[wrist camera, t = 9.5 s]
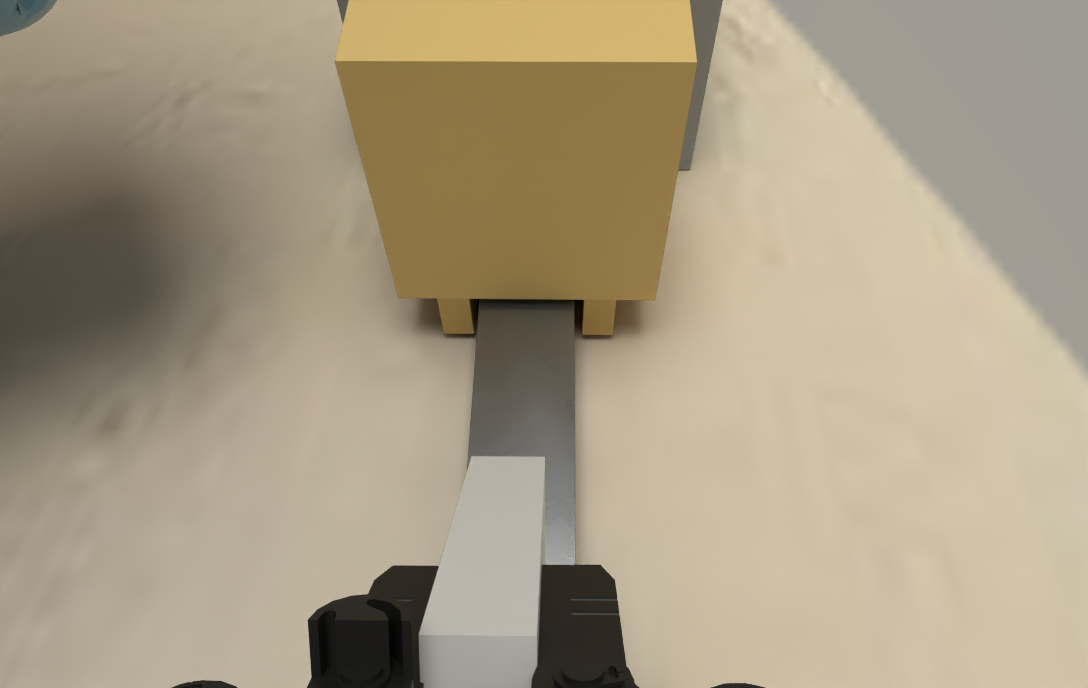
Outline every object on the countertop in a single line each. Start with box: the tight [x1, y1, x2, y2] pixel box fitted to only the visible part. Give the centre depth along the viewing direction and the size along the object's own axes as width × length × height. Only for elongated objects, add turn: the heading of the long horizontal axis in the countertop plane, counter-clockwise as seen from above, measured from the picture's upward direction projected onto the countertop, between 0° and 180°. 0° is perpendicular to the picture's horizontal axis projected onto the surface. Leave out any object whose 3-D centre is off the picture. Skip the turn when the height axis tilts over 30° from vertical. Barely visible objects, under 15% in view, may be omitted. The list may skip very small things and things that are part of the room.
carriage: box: [335, 0, 697, 335], centre depth 25 cm, size 6×8×11 cm
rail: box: [467, 299, 575, 565], centre depth 24 cm, size 26×3×2 cm, turn 179°
